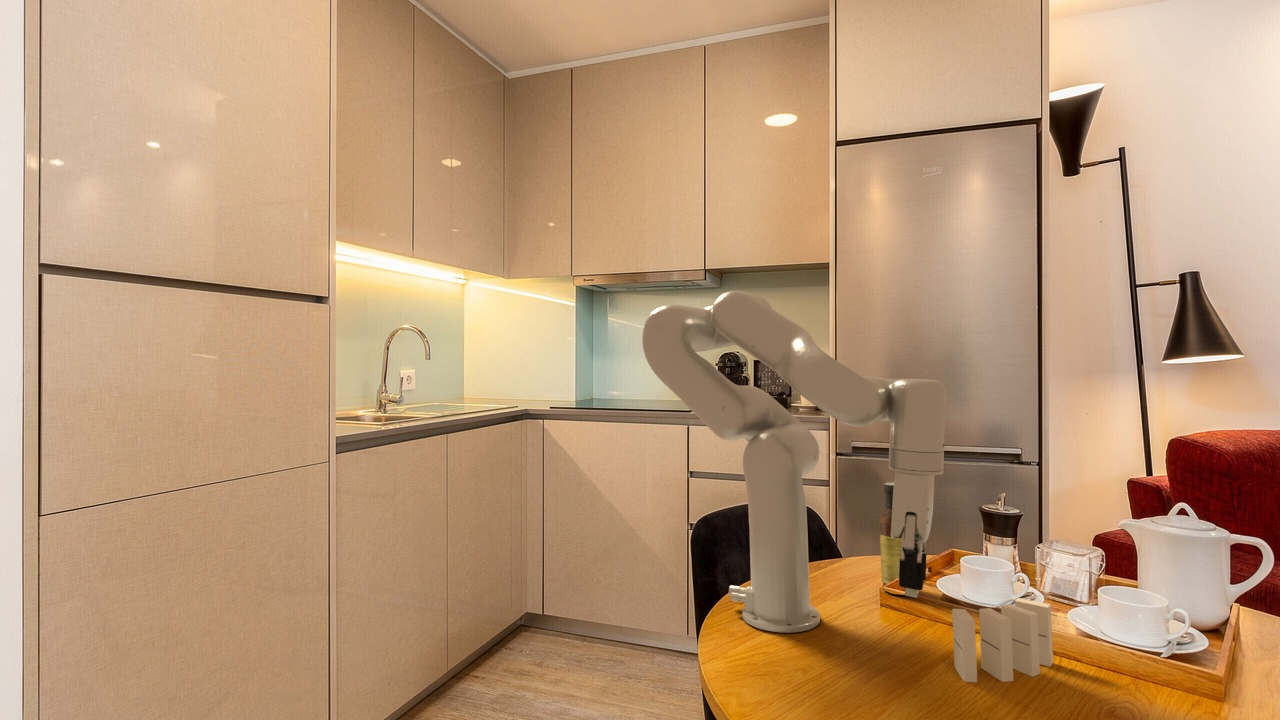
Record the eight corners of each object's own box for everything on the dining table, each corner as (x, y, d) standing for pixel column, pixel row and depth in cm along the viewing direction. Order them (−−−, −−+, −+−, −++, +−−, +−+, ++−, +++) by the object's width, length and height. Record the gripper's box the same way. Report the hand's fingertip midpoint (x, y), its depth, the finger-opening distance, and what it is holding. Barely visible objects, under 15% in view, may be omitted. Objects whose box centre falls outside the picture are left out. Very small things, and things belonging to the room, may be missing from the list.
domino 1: (963, 681, 82) (961, 619, 82) (954, 667, 86) (952, 608, 86) (978, 682, 82) (975, 620, 82) (967, 668, 86) (965, 609, 86)
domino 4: (1050, 666, 86) (1047, 607, 86) (1017, 658, 88) (1014, 600, 89) (1053, 662, 87) (1050, 604, 87) (1020, 654, 90) (1018, 597, 90)
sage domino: (904, 595, 93) (906, 541, 93) (907, 587, 96) (909, 535, 96) (917, 597, 92) (919, 543, 92) (920, 589, 95) (921, 536, 95)
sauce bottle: (922, 598, 112) (918, 487, 113) (885, 596, 114) (881, 486, 114) (913, 586, 119) (910, 481, 119) (879, 585, 120) (875, 480, 121)
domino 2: (1002, 681, 82) (999, 620, 82) (981, 668, 86) (979, 608, 86) (1014, 680, 82) (1011, 619, 82) (992, 666, 86) (990, 608, 86)
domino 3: (1032, 676, 83) (1029, 615, 83) (1003, 664, 87) (1000, 606, 87) (1040, 673, 84) (1037, 613, 84) (1011, 661, 87) (1008, 603, 88)
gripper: (896, 452, 103) (893, 563, 103) (881, 466, 89) (877, 596, 89) (946, 456, 100) (943, 572, 100) (939, 472, 85) (936, 607, 85)
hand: (912, 581), depth 94 cm, fingers closed on sage domino, 3 cm apart
